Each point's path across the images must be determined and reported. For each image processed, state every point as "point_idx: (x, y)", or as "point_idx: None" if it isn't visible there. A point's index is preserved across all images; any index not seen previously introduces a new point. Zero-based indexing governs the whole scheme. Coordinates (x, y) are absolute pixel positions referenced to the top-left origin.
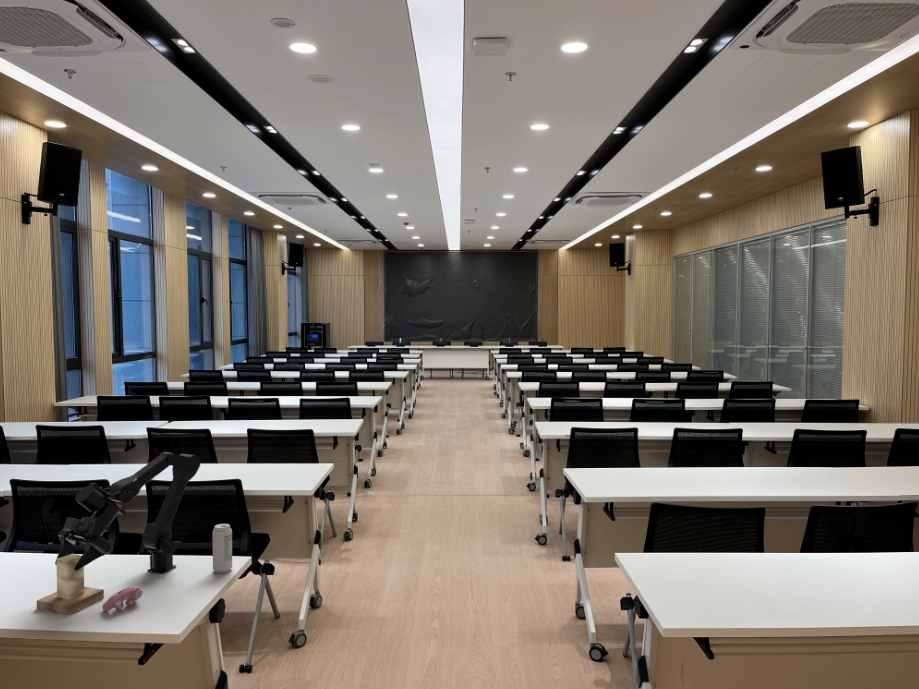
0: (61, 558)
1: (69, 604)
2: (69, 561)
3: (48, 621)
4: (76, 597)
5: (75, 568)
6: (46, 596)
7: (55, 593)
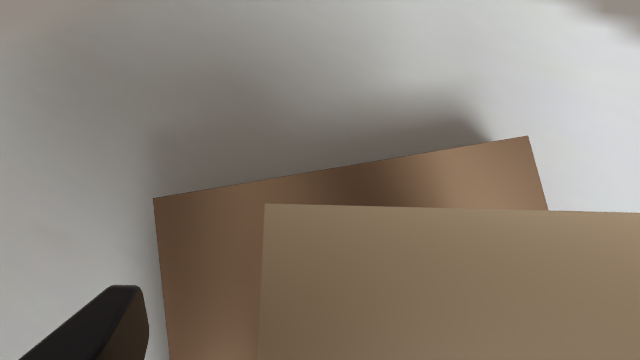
0: (632, 291)
1: (178, 215)
2: (266, 278)
3: (207, 73)
4: None
5: (102, 298)
6: None
7: None
